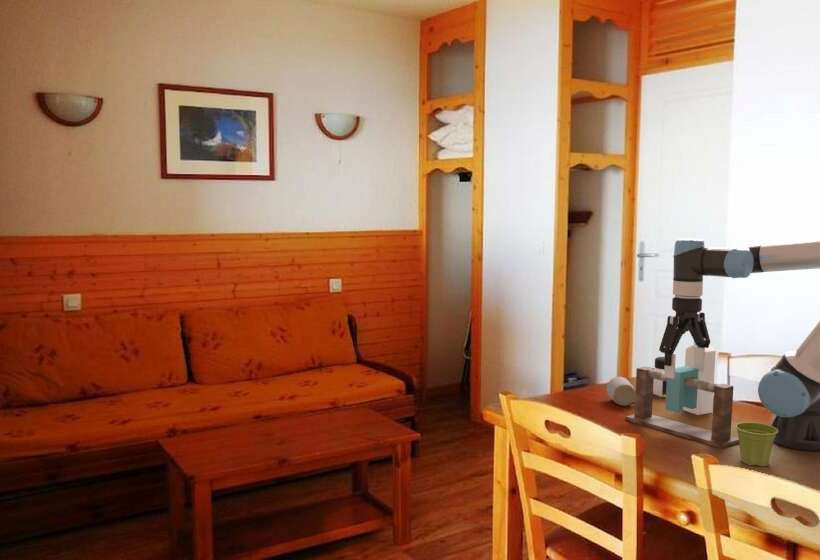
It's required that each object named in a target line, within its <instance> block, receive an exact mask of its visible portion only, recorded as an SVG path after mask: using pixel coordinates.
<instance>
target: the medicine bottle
mask: <svg viewBox="0 0 820 560" xmlns="http://www.w3.org/2000/svg"><path fill="white" fill-rule="evenodd" d="M664 359H665V356H657V357H656V358H655V359H654V370H656V371H661V372H664V370H665V364H664ZM666 387H667V382H666V381H662V380H657V379H654V383H653V396H657V397H660V398H666Z"/></svg>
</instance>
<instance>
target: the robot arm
mask: <svg viewBox="0 0 820 560" xmlns="http://www.w3.org/2000/svg"><path fill="white" fill-rule="evenodd" d="M673 250H674V251H673V273H672V274H673V276H672V277H673V278H672V279H673V281H672V295H673V297H672V299H671V300H672V303H671V309H672V311H674V312H675V316H673V315H668V316H667V321H666V326H665V330H664V333H663V336H662V338H661V343H660V345H659V349H658V350H659V351H658V352H660V353H662V354H664V357H665V359H664V364H665V370H664V377H668V378H673V379H674V378H675V368H676V353H674V352H675V351H676V349H677V347H678V345H679V343H680V340H681V339H682V337H683V335H685V334H686V333H687V332H689V333H690V335H691V337H692V340H693V343H694V342H695V344H696V346H698V347H694V368H697V369H699V371H701V372H703V371H704V356H705V355H704V354H705V348H708V347H709V345H711V338H710V335H709V330H708V327H707V324H706V315H705V313H704V312H701V311H702V309H703V298H702V296H703V289H704V287H703V283H704V276H705V277H708V276H710V277H720V278H721V277H722V278H732V279H745V278H748V277H749V276H750V275H751V274H759V273H760V274H761V273H770V272H773V273H774V272H785V271H788V272H789V271H801V270H815V269H820V238H815V239H813V238H812V239H804V240H803V239H802V240H793V241H783V242H781V241H780V242H771V243H770V242H769V243H763V244H752V245H751V244H746V245H740V246H733V247H732V246H731V247H708V246H706V244H705V241H704V240H703V239H698V238H679V239H677V240H676V241H675V242H674V249H673ZM705 339H706V340H705ZM757 387H758V388H757V394H758V399H759V401H760V402H761V404H762V405H763V407H764V408H765V409H766V410H767V411H768V412H770V413H771V414H773V415H775V416H774V418H773V420H772V423H771V425H770V426H773V427H775V428H777V429H778V433H777V434H776V436H775V439H774V441H773V443H775V444H778V445H779V446H783V447H786V448H790V449H795V450H801V451H808V452H809V451H810V452H811V451H812V452H820V451H819V450H820V320H819V321H818V323H817V324H816V325H815V326H814V328H813V329H812V330H811V331H810V333H809V334H808V335H807V337H805V339H804V341H803V342H802V343H801V344H800V346H799V347H798V348H797V349H796V350H793V351H787V352H785V354H783V355H782V356H781V358H780V360H779V361H778V362H777V363H776V364H775V366H774V367H773V368H772V370H771V371H769V372H767V373H766V374H764V375H763V376H762V377H761V380H759V383H758V386H757Z"/></svg>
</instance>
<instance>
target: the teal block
mask: <svg viewBox="0 0 820 560" xmlns="http://www.w3.org/2000/svg"><path fill="white" fill-rule="evenodd" d="M698 371H699V369H697V368H693V367H688V366H685V365H684V366H679V367H675V378H674V379H673V378H668V377H667V387H666V397H665V410H666V411H669V412H673V413H677V414H680V413H683V411H684V410H683V407H686V408H690V409H695V408H696V406H697V389H696V388H691V387H687V386H684V379H687V378H692V379H697V380H698Z"/></svg>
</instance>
